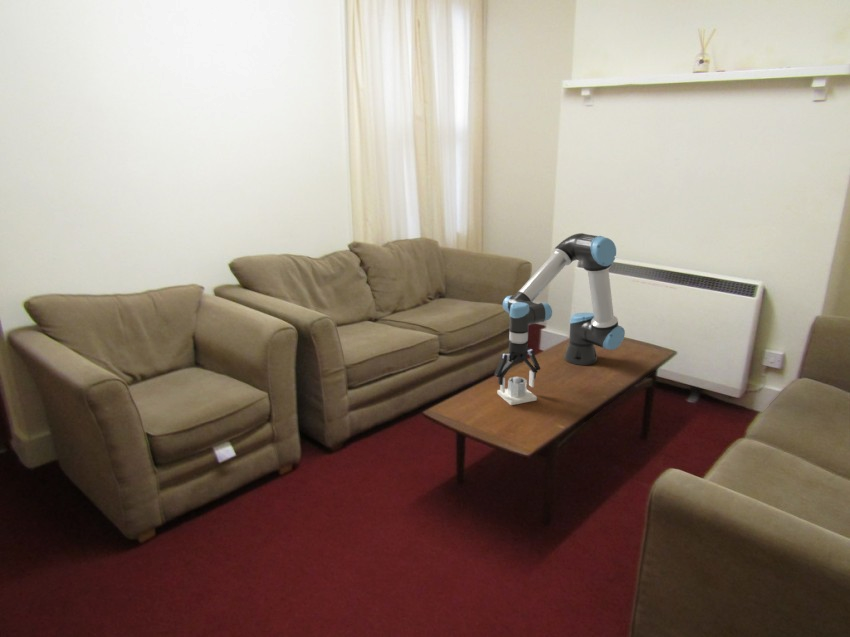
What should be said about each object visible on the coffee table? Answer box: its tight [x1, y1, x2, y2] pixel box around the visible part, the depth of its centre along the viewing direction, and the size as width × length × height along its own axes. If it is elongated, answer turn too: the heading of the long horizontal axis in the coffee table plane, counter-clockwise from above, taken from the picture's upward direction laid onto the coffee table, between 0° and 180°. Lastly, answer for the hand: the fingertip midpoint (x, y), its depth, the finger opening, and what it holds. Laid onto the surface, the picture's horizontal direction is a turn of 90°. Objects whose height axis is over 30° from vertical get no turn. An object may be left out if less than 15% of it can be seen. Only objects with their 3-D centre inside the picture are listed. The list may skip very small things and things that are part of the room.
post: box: [496, 376, 538, 406], centre depth 235 cm, size 12×12×8 cm
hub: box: [507, 376, 528, 398], centre depth 235 cm, size 7×7×6 cm
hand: (516, 388), depth 235 cm, fingers open, 13 cm apart
